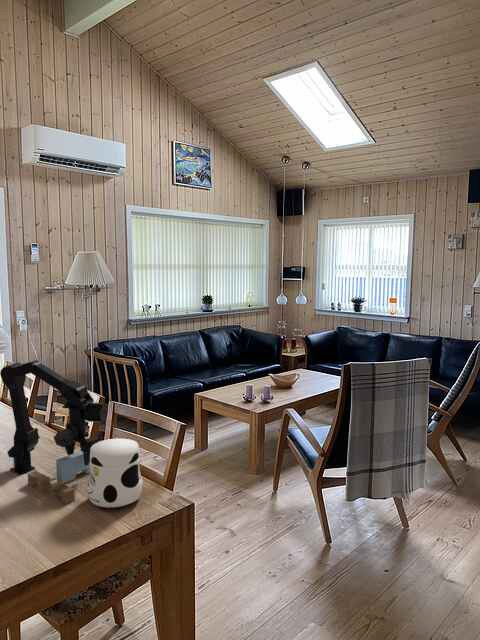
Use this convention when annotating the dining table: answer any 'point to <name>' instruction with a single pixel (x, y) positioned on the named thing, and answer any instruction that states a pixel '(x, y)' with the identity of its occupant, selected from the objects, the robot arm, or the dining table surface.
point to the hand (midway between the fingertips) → (78, 462)
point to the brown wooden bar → (51, 487)
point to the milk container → (114, 473)
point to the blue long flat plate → (70, 467)
